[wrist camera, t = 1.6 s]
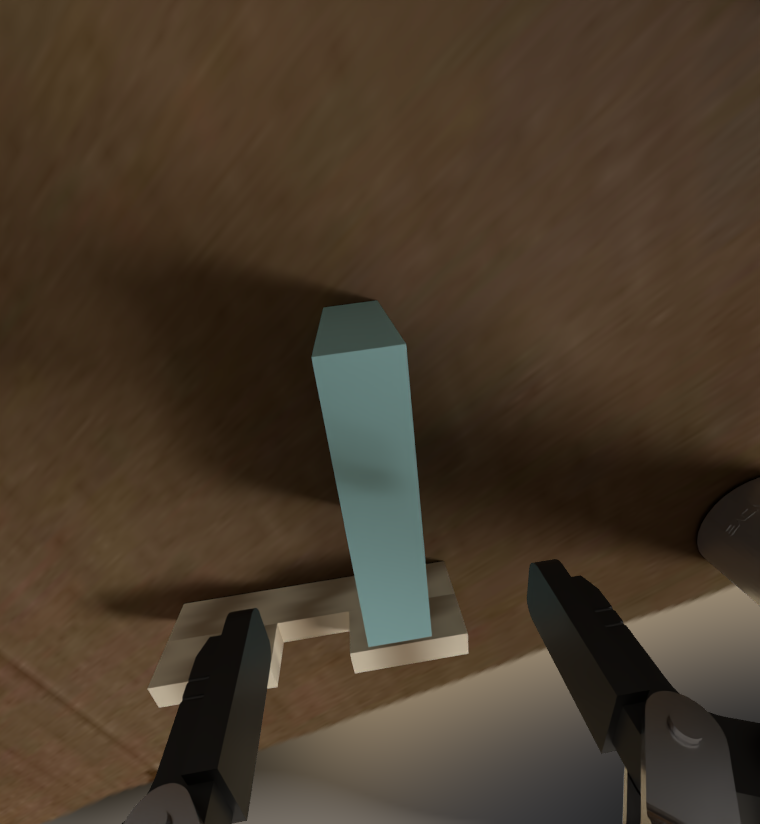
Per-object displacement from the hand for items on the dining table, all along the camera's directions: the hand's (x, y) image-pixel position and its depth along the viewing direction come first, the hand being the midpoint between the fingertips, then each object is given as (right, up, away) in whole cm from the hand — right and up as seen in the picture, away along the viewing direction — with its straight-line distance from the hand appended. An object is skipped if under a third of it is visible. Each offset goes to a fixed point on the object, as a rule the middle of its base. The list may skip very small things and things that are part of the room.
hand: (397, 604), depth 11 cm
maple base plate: (-5, -8, +18) cm, 21 cm away
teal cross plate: (-1, +5, +13) cm, 14 cm away
